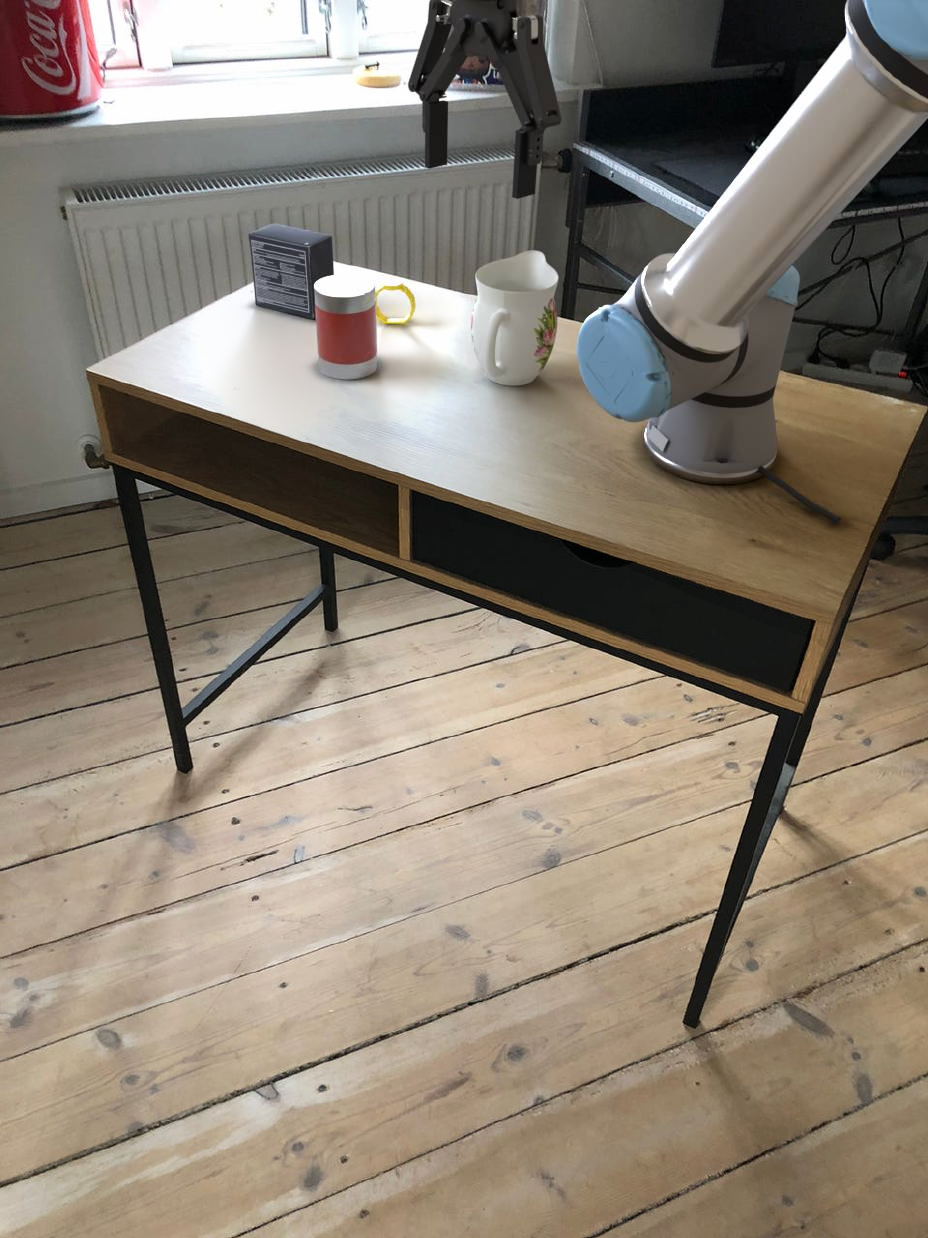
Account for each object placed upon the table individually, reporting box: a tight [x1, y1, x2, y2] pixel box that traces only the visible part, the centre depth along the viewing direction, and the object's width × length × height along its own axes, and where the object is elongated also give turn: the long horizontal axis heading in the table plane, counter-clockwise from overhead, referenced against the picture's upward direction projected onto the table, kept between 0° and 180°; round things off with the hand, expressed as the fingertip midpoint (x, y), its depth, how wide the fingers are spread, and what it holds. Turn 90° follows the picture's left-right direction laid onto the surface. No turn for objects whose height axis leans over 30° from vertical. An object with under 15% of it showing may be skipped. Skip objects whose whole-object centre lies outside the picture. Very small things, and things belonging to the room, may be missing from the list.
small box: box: [247, 223, 335, 320], centre depth 148 cm, size 11×6×10 cm, turn 62°
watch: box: [375, 278, 417, 325], centre depth 145 cm, size 6×3×6 cm, turn 81°
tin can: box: [314, 274, 378, 381], centre depth 132 cm, size 8×8×11 cm
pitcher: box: [470, 249, 560, 387], centre depth 130 cm, size 11×18×14 cm, turn 160°
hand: (478, 180), depth 111 cm, fingers open, 13 cm apart
